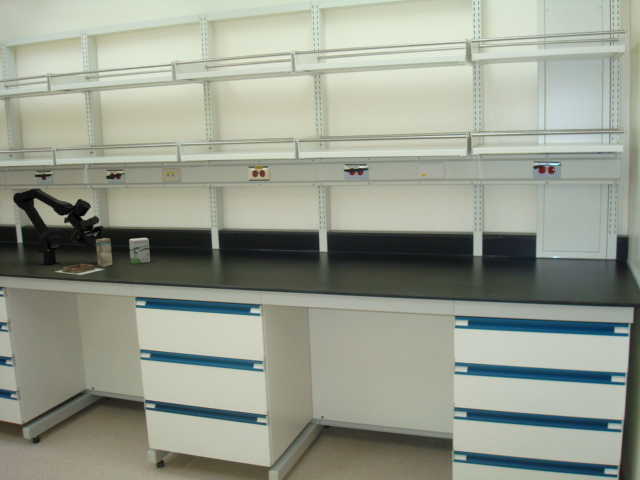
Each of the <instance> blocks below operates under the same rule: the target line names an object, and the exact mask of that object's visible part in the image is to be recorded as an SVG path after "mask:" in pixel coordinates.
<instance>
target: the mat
mask: <svg viewBox="0 0 640 480" xmlns="http://www.w3.org/2000/svg"><path fill="white" fill-rule="evenodd" d="M103 270H105V268H104V269H103V268H96V267H95V270H91V271H86V272H82V273H78V274H75V273H67V272H62V269H61V270H60V269H59V270H56V271H54V272H55V273H60V274H61V273H63V274H71V275H79V276H82V275H87V274H91V273H96V272H99V271H103Z"/></svg>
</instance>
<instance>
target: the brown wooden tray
mask: <svg viewBox="0 0 640 480" xmlns="http://www.w3.org/2000/svg"><path fill="white" fill-rule="evenodd" d="M95 266H96V265H95V264H86V263H77V264H73V265H68V266H63V267H61V270H62V272H67V273H66V274H69V273H75V274H74V275H77V274H78V273H82V272H86V271H91V270H95V268H96V267H95Z"/></svg>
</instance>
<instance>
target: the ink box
mask: <svg viewBox="0 0 640 480" xmlns="http://www.w3.org/2000/svg"><path fill="white" fill-rule="evenodd" d="M128 244H129V259H130V260H129V261H130V264H133V265H135V264H136V265H137V264H144V263H145V264H146V263H150V262H151V257H150V255H151V254H150V240H149V238H148V237H138V238H130V239H129V240H128Z"/></svg>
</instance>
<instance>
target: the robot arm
mask: <svg viewBox="0 0 640 480" xmlns="http://www.w3.org/2000/svg"><path fill="white" fill-rule="evenodd" d="M35 199H37V200H38V201H40V202H42V203H43V204H45V205H47V206H49V207H50V208H52V210H53V212H55V213H56V214H57V215H59V216H61V217H63V216H66V217H64V218H63V219H64V220H63V223H64V224H68V223H69V224H70V225H71V226H72V227H73V228H72V229H73V231H74V233H73V234H72V235H71V237H70V239H71V241H72V242H73V243H77V244H80V245H83V246H87V247H88V248H90V249H91V248H92V249H94V248H95V246H94V244H93V242H91V240H90V239H89V238H88V236H91V237H92V238H93V239H94V240H95V241H96V240H97V239H103V238H105V237H104V232H105V231H104V230H106V228H105V226H103V225H97V224H99V222H100V218H99V217H98V216H97V215H94V216H92V217H89V218H88V219H83V217H85V216H86V214H87V213H88V212H89V211H90V209H91V208H92V206H91V203H90V202H87V201H86V200H84V199H82V198H78V199H77V201H76V202H75V203H74V205H73V204H72V203H71V202H67V201H65V200H64V201H63V200H61V199H57V198H56V197H54V196H52V195H50V194H49V193H47V192H45V191H43V190H42V189H41V188H39V187H37V188H31V189H29V190H26V191H23V192H16V193H14V195H13V197H12V200H13V202H14V204H15V205H16V207H18V208H19V209H21V210H22V211H24V213H25V214H26V216H27V217H28V219H29V220H30V222H31V224H32V226H33V227H34V229H35V230H36V232H37V233H38V236H39V243H40V244H39V245H38V247H37V248H36V250H37V252H38V253H40V254H41V258H42V259H41V261H42V262H40V263H39V265H46V266H48V265H54V264H59V263H60V261H58V260H57V255H56V251H58V250H59V246H60V244H61V240H60V236H58V234H57V231H56V230H52V231H51V230H50V229H49V228H48V226H47V224H46V223H45V221H44V220H43V218H42V217H41V215H40V213H39V212H38V211H37V208H36V207H35ZM95 225H96V226H95Z"/></svg>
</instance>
